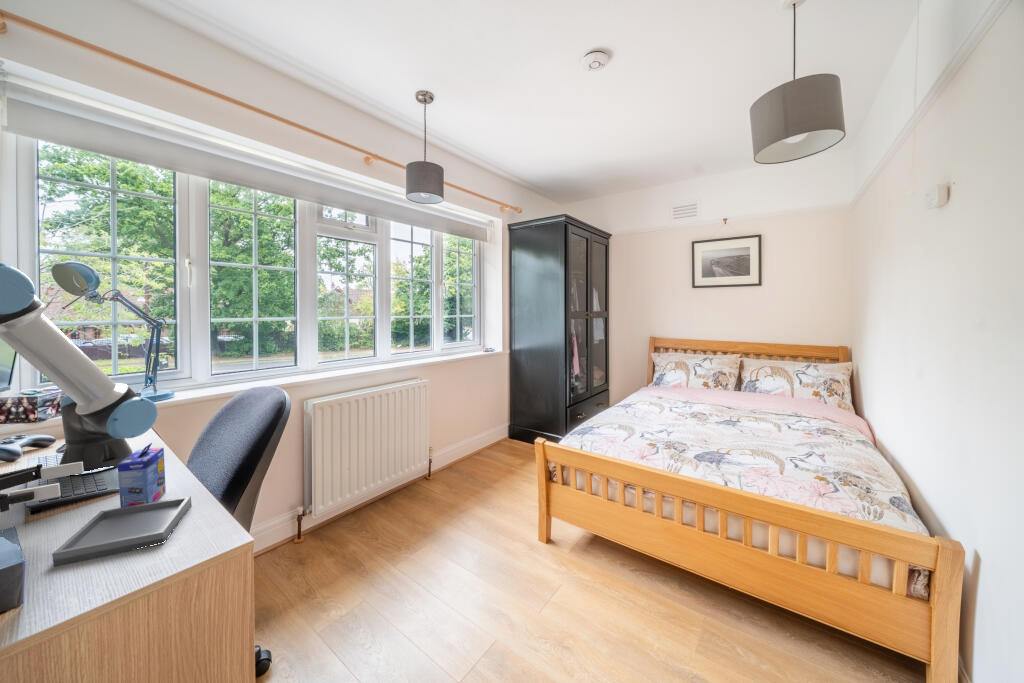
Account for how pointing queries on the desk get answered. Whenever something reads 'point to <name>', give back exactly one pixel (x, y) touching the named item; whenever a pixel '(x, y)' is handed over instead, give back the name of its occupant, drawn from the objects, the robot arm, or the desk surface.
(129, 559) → the desk surface
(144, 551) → the desk surface
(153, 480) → the ink cartridge box
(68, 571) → the desk surface
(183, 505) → the dock tray
